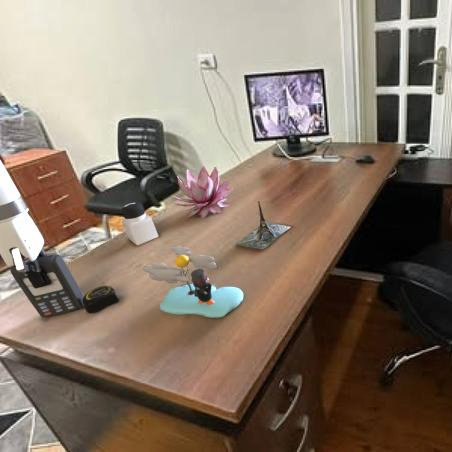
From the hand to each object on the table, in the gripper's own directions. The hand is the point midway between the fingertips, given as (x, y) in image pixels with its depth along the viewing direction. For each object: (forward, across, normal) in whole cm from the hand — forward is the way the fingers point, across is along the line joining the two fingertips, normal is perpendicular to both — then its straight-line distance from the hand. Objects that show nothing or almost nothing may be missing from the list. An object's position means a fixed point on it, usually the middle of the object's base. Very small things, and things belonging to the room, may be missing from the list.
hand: (45, 279), depth 81 cm
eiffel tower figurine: (+10, -7, +53) cm, 54 cm away
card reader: (+10, 0, 0) cm, 10 cm away
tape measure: (+10, +3, +9) cm, 14 cm away
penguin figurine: (+10, +16, +31) cm, 36 cm away
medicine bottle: (+10, -29, +18) cm, 36 cm away
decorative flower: (+10, -37, +40) cm, 55 cm away
